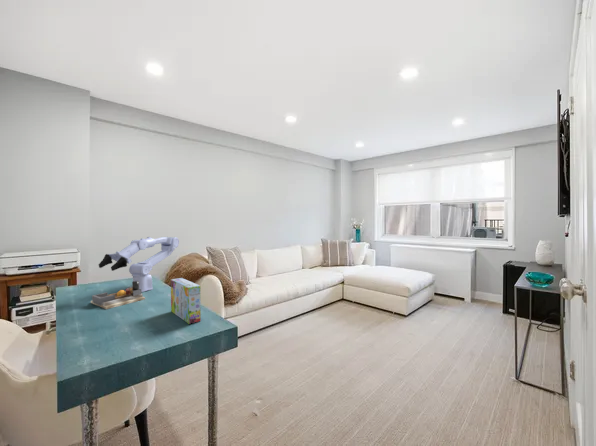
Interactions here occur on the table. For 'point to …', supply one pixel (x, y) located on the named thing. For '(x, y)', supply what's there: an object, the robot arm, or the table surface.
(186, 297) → the snack box
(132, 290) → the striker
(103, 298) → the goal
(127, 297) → the beige grooved board
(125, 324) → the table surface
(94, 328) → the table surface
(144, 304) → the table surface
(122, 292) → the ball
